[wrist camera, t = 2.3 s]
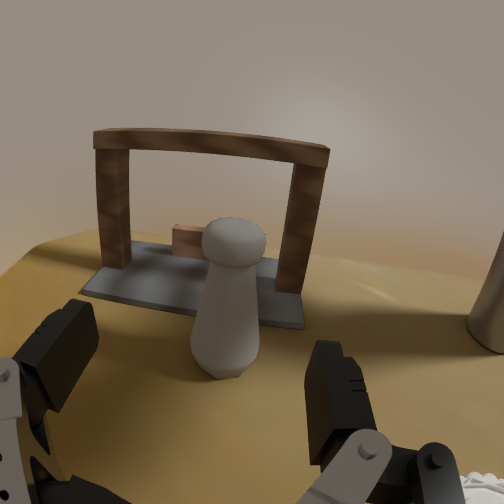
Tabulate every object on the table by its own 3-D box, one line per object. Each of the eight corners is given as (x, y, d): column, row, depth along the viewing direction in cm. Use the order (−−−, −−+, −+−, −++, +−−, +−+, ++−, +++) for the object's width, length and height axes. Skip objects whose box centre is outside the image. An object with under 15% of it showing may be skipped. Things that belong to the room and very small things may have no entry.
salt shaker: (178, 354, 26) (175, 216, 20) (228, 332, 30) (240, 205, 24) (217, 397, 22) (227, 249, 17) (269, 368, 26) (297, 231, 20)
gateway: (295, 266, 44) (317, 141, 36) (302, 329, 31) (341, 156, 23) (128, 244, 44) (127, 125, 36) (83, 294, 31) (67, 136, 24)
